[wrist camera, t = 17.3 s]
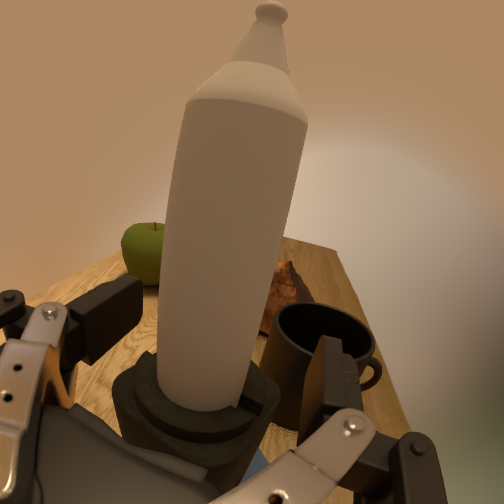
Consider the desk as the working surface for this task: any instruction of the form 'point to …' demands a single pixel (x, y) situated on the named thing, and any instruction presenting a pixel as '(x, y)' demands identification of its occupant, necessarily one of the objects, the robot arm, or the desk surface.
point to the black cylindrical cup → (311, 351)
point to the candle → (220, 263)
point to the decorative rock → (283, 292)
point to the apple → (144, 251)
